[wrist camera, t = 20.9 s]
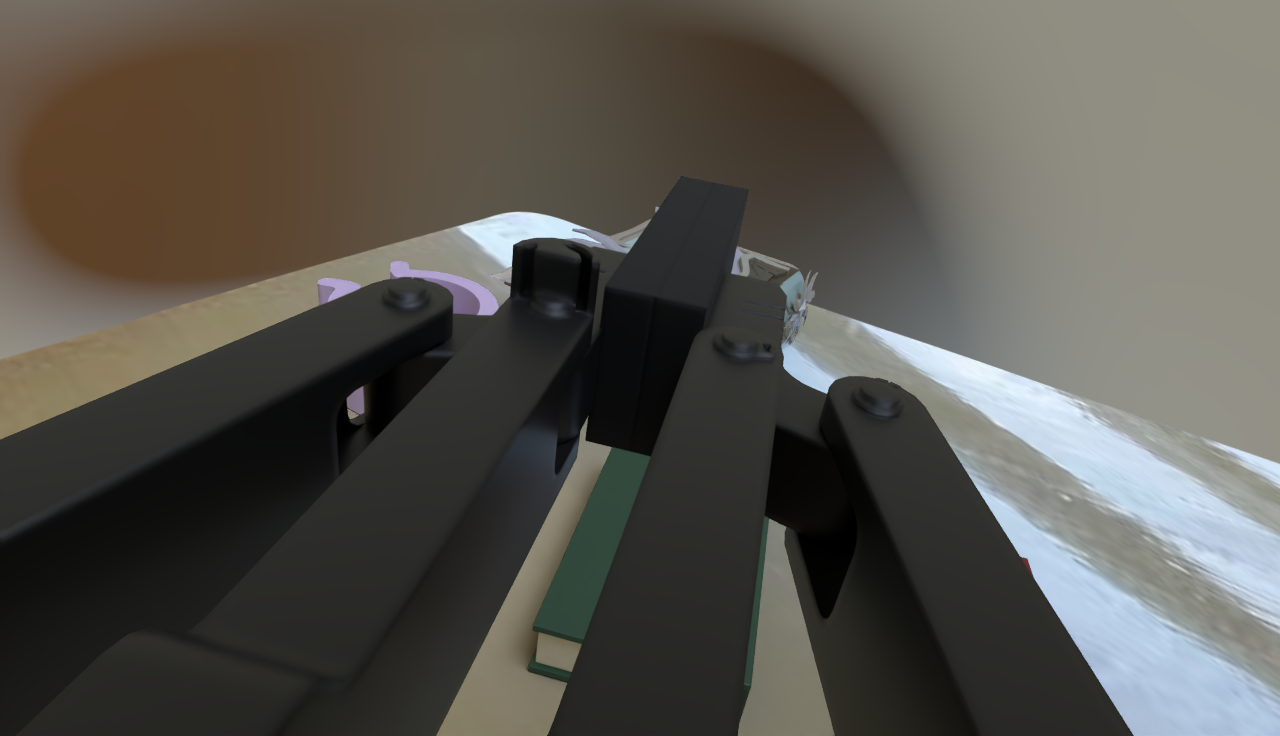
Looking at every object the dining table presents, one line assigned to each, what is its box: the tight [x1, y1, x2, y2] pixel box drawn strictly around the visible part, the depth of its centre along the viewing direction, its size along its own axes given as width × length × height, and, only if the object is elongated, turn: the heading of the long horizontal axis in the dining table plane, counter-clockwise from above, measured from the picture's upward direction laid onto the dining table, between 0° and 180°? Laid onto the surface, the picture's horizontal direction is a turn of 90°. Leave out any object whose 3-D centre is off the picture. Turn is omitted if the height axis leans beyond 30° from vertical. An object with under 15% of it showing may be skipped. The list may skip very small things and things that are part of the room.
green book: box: [528, 447, 769, 722], centre depth 45 cm, size 3×11×17 cm
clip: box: [318, 261, 498, 415], centre depth 59 cm, size 20×12×7 cm, turn 51°
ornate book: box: [488, 207, 818, 343], centre depth 72 cm, size 23×10×30 cm
